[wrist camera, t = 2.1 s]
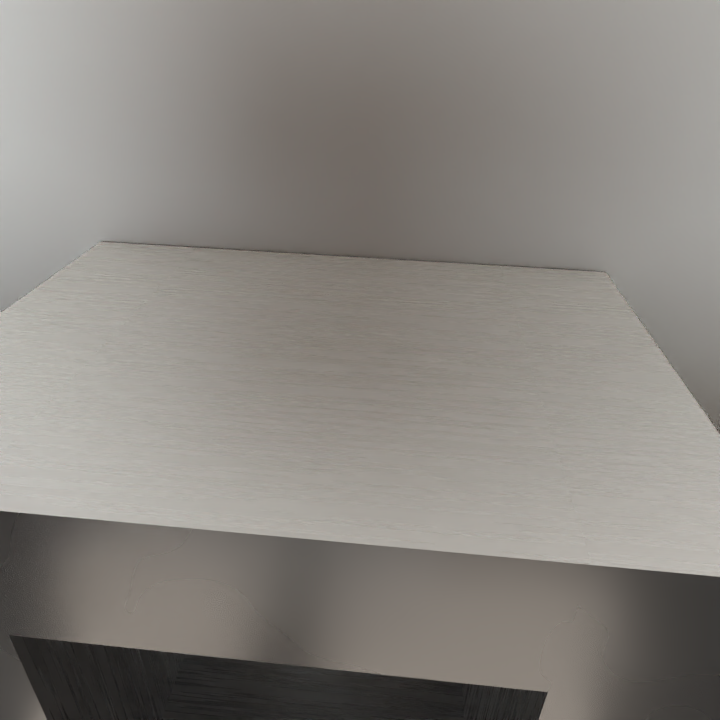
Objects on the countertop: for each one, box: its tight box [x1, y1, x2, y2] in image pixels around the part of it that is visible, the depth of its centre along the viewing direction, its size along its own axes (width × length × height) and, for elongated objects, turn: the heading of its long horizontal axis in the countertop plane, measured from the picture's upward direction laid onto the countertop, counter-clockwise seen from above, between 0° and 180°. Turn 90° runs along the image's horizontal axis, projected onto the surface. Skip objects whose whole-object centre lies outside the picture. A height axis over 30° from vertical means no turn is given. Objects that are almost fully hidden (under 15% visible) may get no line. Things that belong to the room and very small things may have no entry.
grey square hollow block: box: [0, 242, 720, 720], centre depth 8 cm, size 7×7×5 cm
